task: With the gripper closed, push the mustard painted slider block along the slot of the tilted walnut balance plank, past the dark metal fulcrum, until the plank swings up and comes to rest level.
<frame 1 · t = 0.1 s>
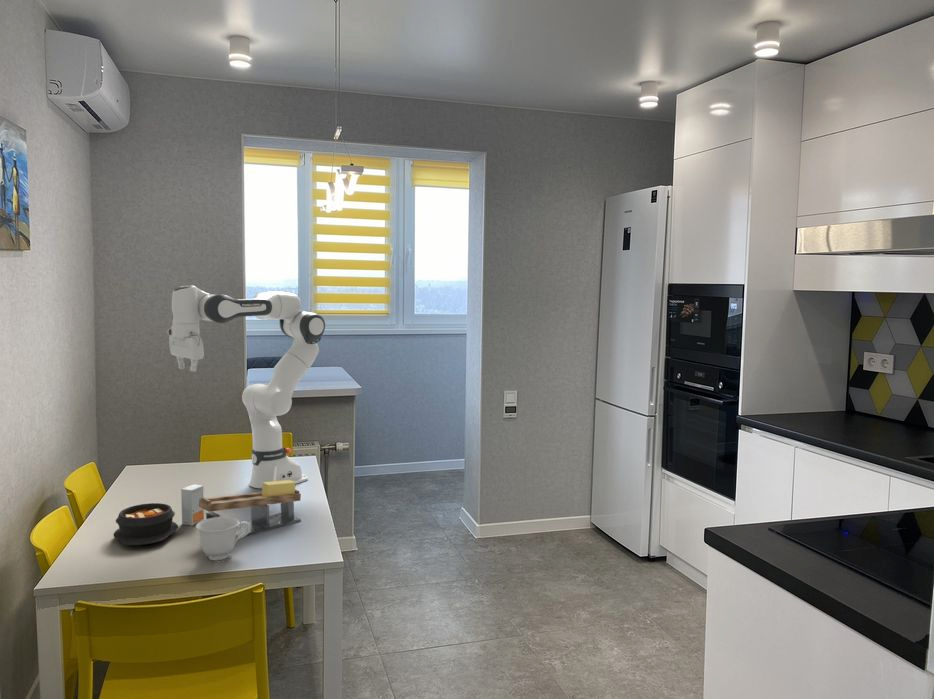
hand: (187, 370, 255), 48 cm above the table, tool pointing down, fingers open, 8 cm apart
teacup: (224, 556, 210), on the table
casserole: (146, 536, 225), on the table
balance plank: (251, 503, 231), point 8 cm above the table, tilted 7°, touching fulcrum stand, slider block
slider block: (278, 495, 238), point 9 cm above the table, tilted 7°, touching balance plank
skincare box: (193, 522, 238), on the table
fulcrum stand: (252, 528, 232), on the table
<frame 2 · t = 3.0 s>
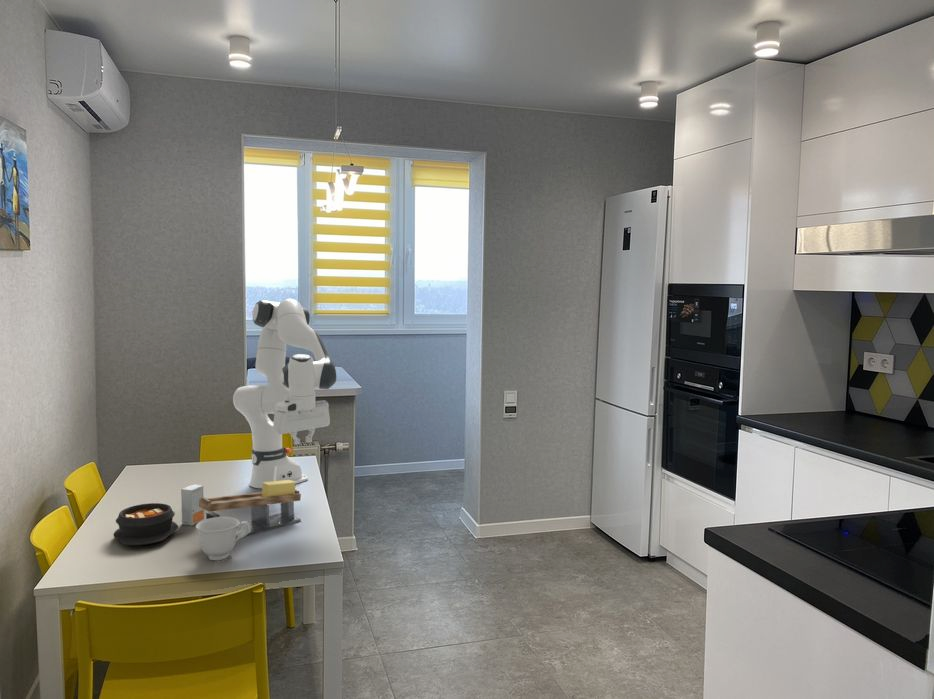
hand: (302, 442, 243), 25 cm above the table, tool pointing down, fingers open, 3 cm apart
nothing on the table moved.
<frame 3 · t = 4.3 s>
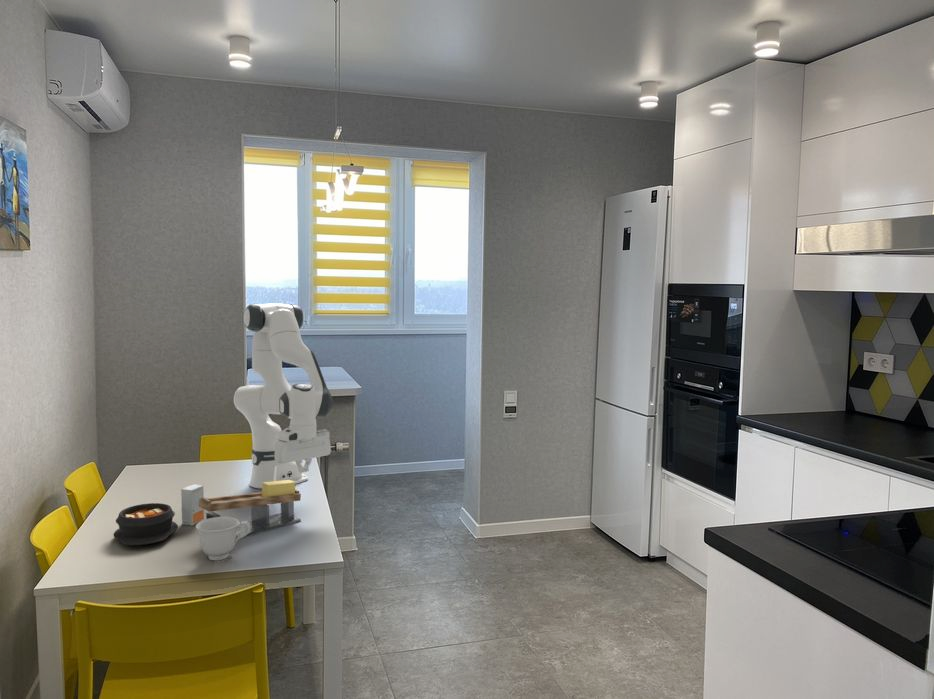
hand: (303, 471, 244), 15 cm above the table, tool pointing down, fingers closed
nothing on the table moved.
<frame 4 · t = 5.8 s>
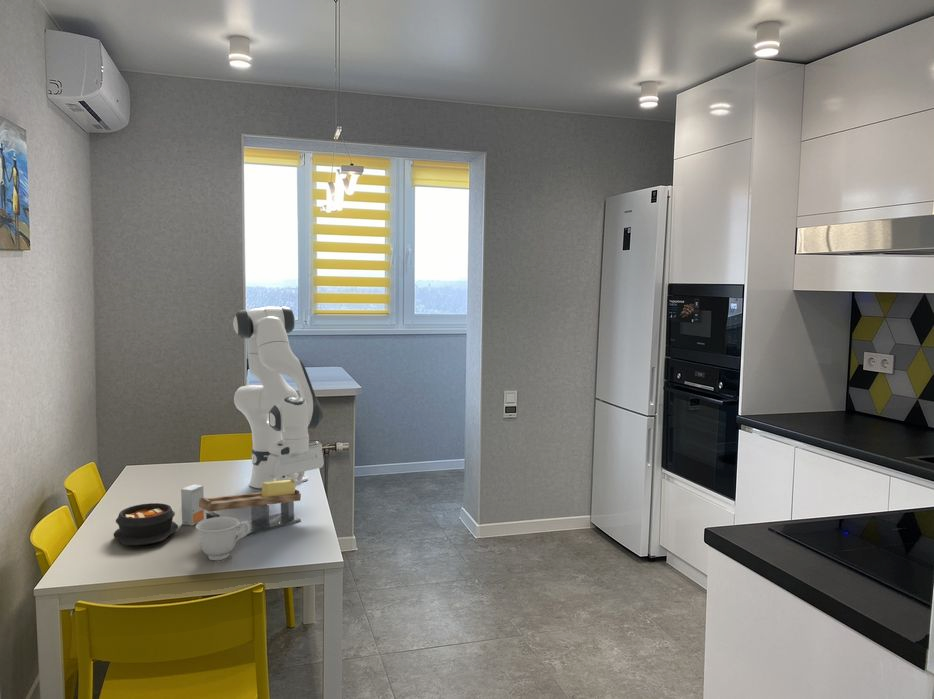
hand: (296, 485, 243), 11 cm above the table, tool pointing down, fingers closed
slider block: (278, 495, 238), point 9 cm above the table, tilted 7°, touching balance plank, gripper
everything else where it was.
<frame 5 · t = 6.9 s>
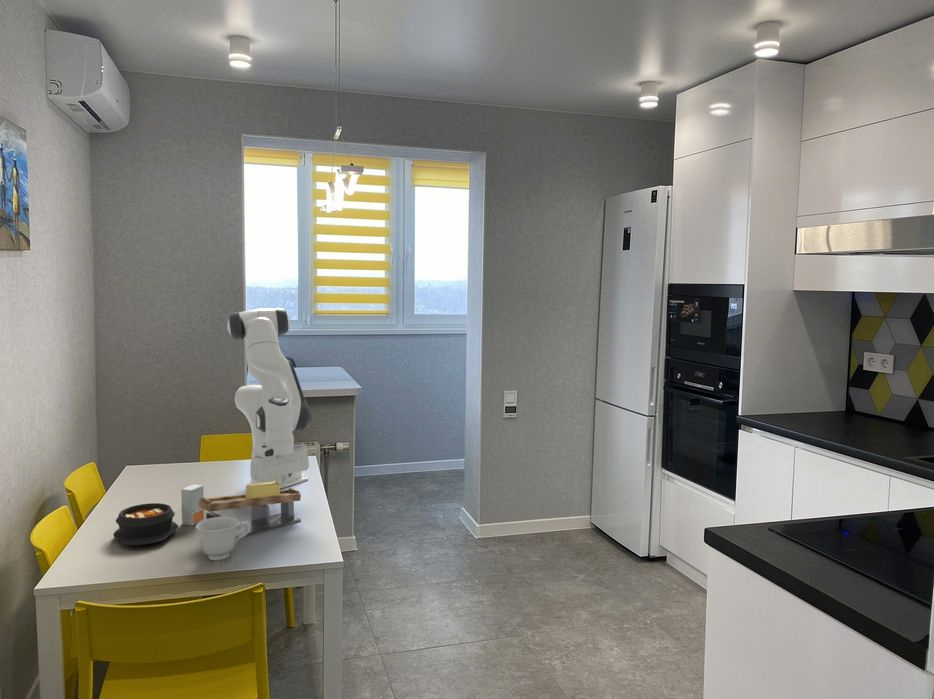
hand: (280, 488, 238), 11 cm above the table, tool pointing down, fingers closed
slider block: (262, 498, 233), point 9 cm above the table, tilted 6°, touching balance plank, gripper
everything else where it was.
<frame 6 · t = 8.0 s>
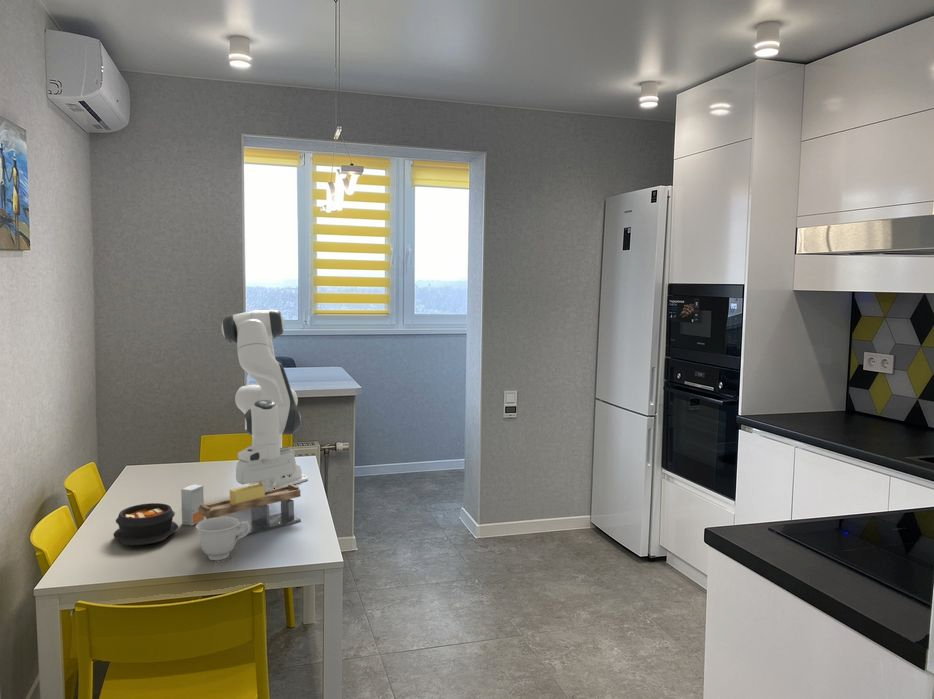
hand: (267, 491, 235), 11 cm above the table, tool pointing down, fingers closed
balance plank: (251, 504, 231), point 8 cm above the table, touching fulcrum stand, slider block
slider block: (247, 501, 230), point 9 cm above the table, touching balance plank, gripper
everything else where it was.
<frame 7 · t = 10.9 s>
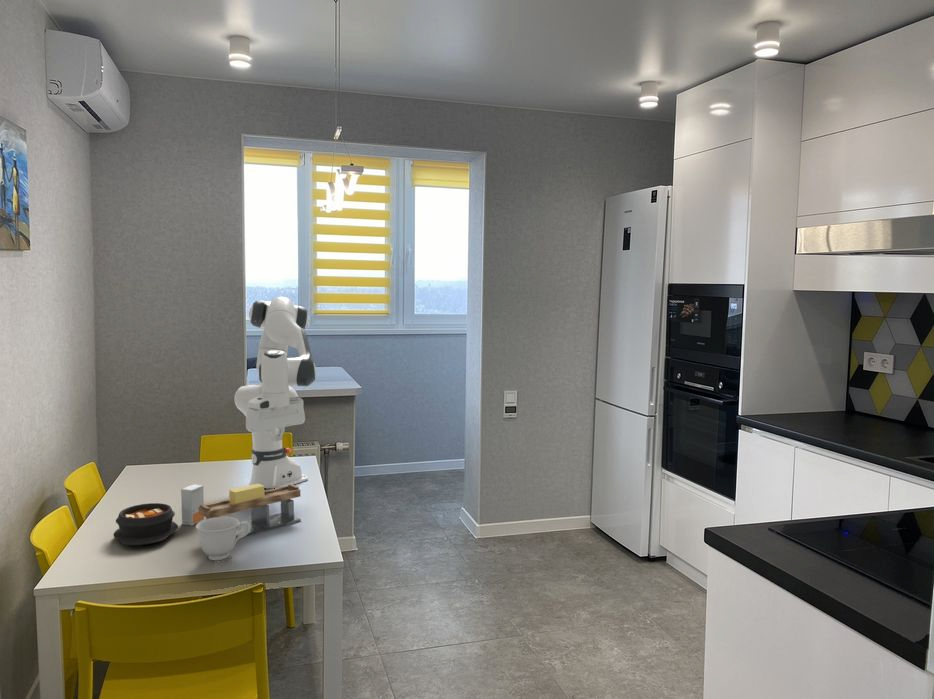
hand: (276, 441, 237), 27 cm above the table, tool pointing down, fingers closed
slider block: (247, 501, 230), point 9 cm above the table, touching balance plank
everything else where it was.
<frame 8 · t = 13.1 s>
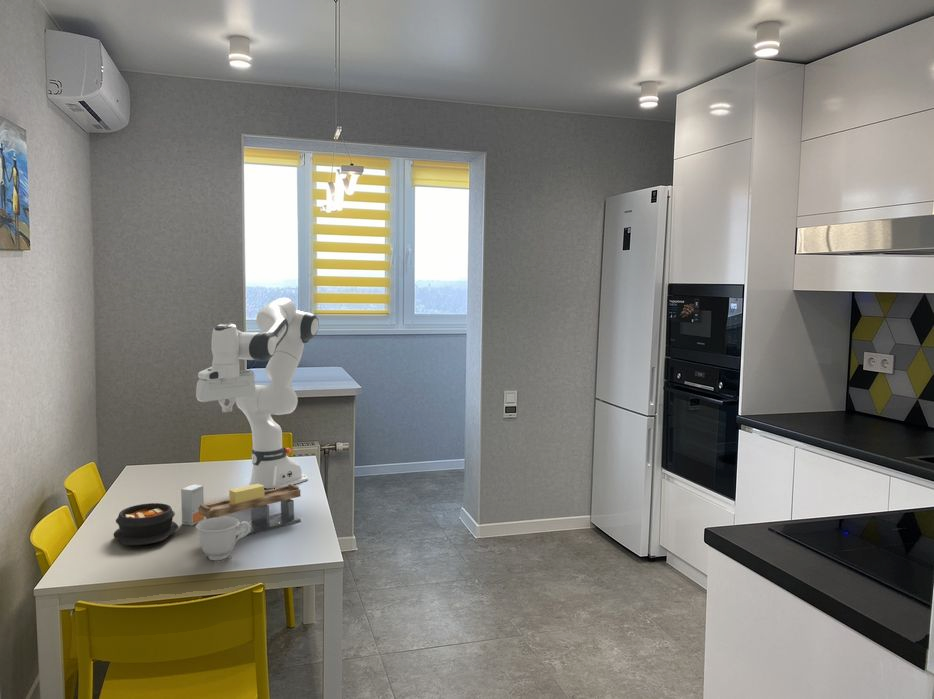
hand: (227, 411, 245), 35 cm above the table, tool pointing down, fingers closed
nothing on the table moved.
at the end: balance plank tilted 0°; slider block 0.4 cm from the target spot on the fulcrum stand, point 9.5 cm above the fulcrum stand's base; slider block touching balance plank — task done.
